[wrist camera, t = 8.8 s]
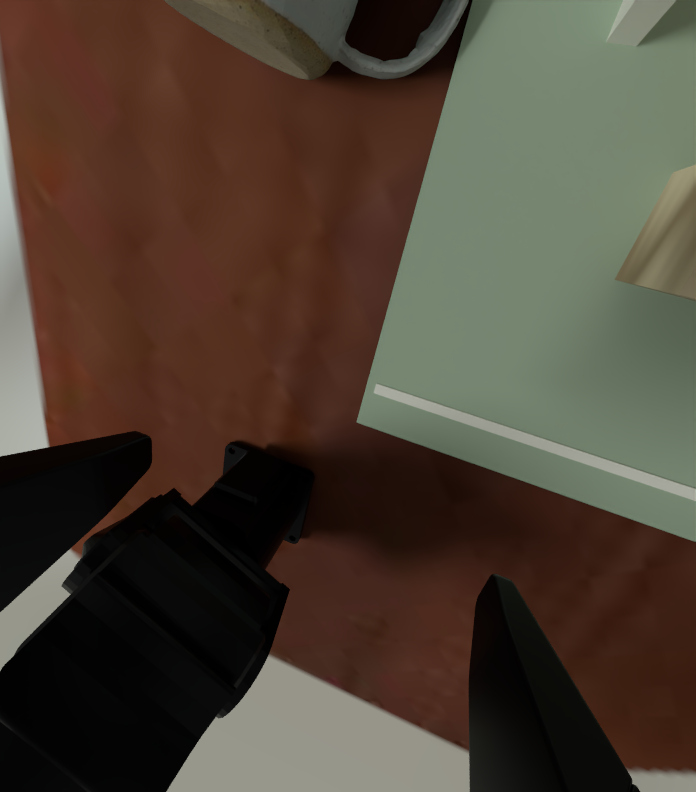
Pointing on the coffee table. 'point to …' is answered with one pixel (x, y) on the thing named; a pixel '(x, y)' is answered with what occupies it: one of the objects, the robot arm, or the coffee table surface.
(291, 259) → the coffee table surface
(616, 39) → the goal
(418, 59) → the ceramic mug
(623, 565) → the coffee table surface
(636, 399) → the pitch mat
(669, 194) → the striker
